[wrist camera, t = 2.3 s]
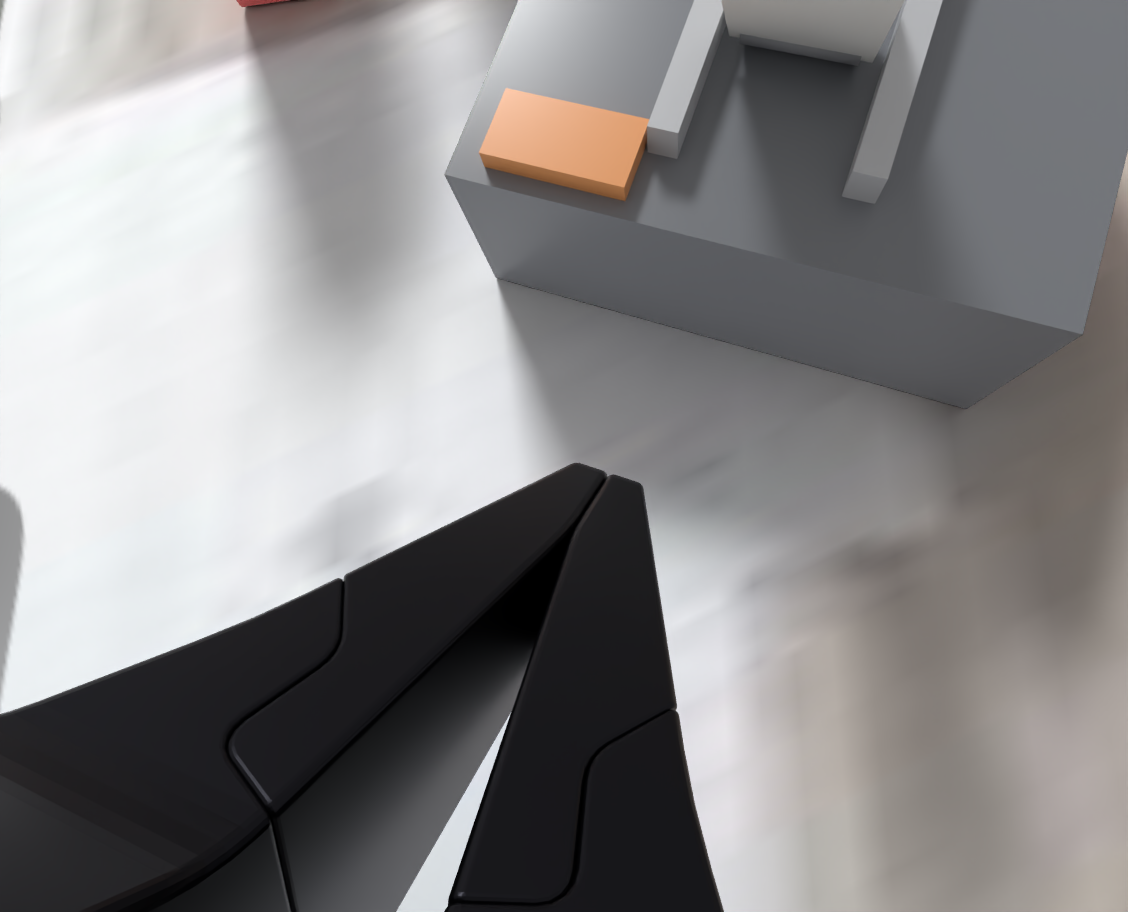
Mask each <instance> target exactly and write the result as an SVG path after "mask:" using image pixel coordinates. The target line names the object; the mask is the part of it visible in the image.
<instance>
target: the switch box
mask: <svg viewBox="0 0 1128 912" xmlns="http://www.w3.org/2000/svg"><path fill="white" fill-rule="evenodd" d="M1127 151H1128V0H905V1H904V2H903V4H902V6H901V8H900V10H899V12H898V14H897V16H896V18H895V20H894V22H893V24H892V26H891V28H890V30H889V32H888V34H887V36H886V37H885V39H884V41H883V43H882V45H881V47H880V49H879V51H878V53H877V55H876V57H875V59H874V61H873V63H870V62H865V61H860V63H859V65H858V66H855V65H850V64H845V63H839V62H834V61H829V60H823V59H818V58H813V57H808V56H802V55H797V54H792V53H787V52H781V51H776V50H771V49H765V48H760V47H755V46H750V45H744V44H740V42H739V38H737V37H732V36H729V33H728V28H727V24H726V19H725V15H724V10H723V6H722V1H721V0H518V2H517V5H516V7H515V9H514V12H513V14H512V17H511V19H510V21H509V24H508V26H507V28H506V31H505V33H504V35H503V38H502V40H501V42H500V45H499V47H498V50H497V52H496V54H495V57H494V59H493V61H492V64H491V66H490V68H489V71H488V73H487V75H486V78H485V80H484V83H483V85H482V87H481V90H480V92H479V94H478V97H477V99H476V101H475V104H474V106H473V108H472V111H471V113H470V116H469V118H468V120H467V123H466V125H465V127H464V130H463V132H462V134H461V137H460V139H459V142H458V144H457V146H456V149H455V151H454V153H453V156H452V158H451V160H450V163H449V165H448V167H447V170H446V172H445V177H446V179H447V181H448V183H449V185H450V187H451V189H452V191H453V193H454V195H455V197H456V199H457V201H458V203H459V205H460V207H461V209H462V211H463V213H464V215H465V217H466V219H467V221H468V223H469V225H470V227H471V229H472V231H473V233H474V235H475V237H476V239H477V241H478V243H479V245H480V247H481V249H482V251H483V253H484V255H485V257H486V259H487V261H488V263H489V265H490V267H491V269H492V271H493V273H494V275H495V277H496V278H499V279H502V280H506V281H510V282H513V283H517V284H520V285H524V286H527V287H531V288H535V289H538V290H542V291H545V292H549V293H553V294H556V295H560V296H563V297H567V298H570V299H574V300H578V301H581V302H585V303H588V304H592V305H596V306H599V307H603V308H606V309H610V310H613V311H617V312H621V313H624V314H628V315H631V316H635V317H638V318H642V319H646V320H649V321H653V322H656V323H660V324H664V325H667V326H671V327H674V328H678V329H681V330H685V331H689V332H692V333H696V334H699V335H703V336H707V337H710V338H714V339H717V340H721V341H724V342H728V343H732V344H735V345H739V346H742V347H746V348H749V349H753V350H757V351H760V352H764V353H767V354H771V355H775V356H778V357H782V358H785V359H789V360H792V361H796V362H800V363H803V364H807V365H810V366H814V367H818V368H821V369H825V370H828V371H832V372H835V373H839V374H843V375H846V376H850V377H853V378H857V379H860V380H864V381H868V382H871V383H875V384H878V385H882V386H886V387H889V388H893V389H896V390H900V391H903V392H907V393H911V394H914V395H918V396H921V397H925V398H929V399H932V400H936V401H939V402H943V403H946V404H950V405H954V406H957V407H961V408H964V409H967V408H969V407H970V406H972V405H973V404H975V403H976V402H978V401H980V400H981V399H983V398H984V397H986V396H987V395H989V394H990V393H992V392H994V391H995V390H997V389H998V388H1000V387H1001V386H1003V385H1005V384H1006V383H1008V382H1009V381H1011V380H1012V379H1014V378H1015V377H1017V376H1019V375H1020V374H1022V373H1023V372H1025V371H1026V370H1028V369H1030V368H1031V367H1033V366H1034V365H1036V364H1037V363H1039V362H1041V361H1042V360H1044V359H1045V358H1047V357H1048V356H1050V355H1051V354H1053V353H1055V352H1056V351H1058V350H1059V349H1061V348H1062V347H1064V346H1066V345H1067V344H1069V343H1070V342H1072V341H1073V340H1075V339H1076V338H1078V337H1080V336H1081V335H1083V332H1084V328H1085V323H1086V319H1087V315H1088V311H1089V307H1090V303H1091V299H1092V295H1093V291H1094V287H1095V282H1096V278H1097V274H1098V270H1099V266H1100V262H1101V258H1102V254H1103V250H1104V246H1105V241H1106V237H1107V233H1108V229H1109V225H1110V221H1111V217H1112V213H1113V209H1114V205H1115V200H1116V196H1117V192H1118V188H1119V184H1120V180H1121V176H1122V172H1123V168H1124V164H1125V160H1126V155H1127Z"/></svg>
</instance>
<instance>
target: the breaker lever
mask: <svg viewBox="0 0 1128 912" xmlns="http://www.w3.org/2000/svg"><path fill="white" fill-rule="evenodd" d="M721 1H722V6H723V10H724V15H725V19H726V24H727V28H728V33H729V36H732V37H737V38H739V42H740V44H744V45H750V46H755V47H760V48H765V49H771V50H776V51H781V52H787V53H792V54H797V55H802V56H808V57H813V58H818V59H823V60H829V61H834V62H839V63H845V64H850V65H855V66H858V65H859V63H860V61H865V62H870V63H873V61H874V59H875V57H876V55H877V53H878V51H879V49H880V47H881V45H882V43H883V41H884V39H885V37H886V36H887V34H888V32H889V30H890V28H891V26H892V24H893V22H894V20H895V18H896V16H897V14H898V12H899V10H900V8H901V6H902V4H903V2H904V1H905V0H721Z"/></svg>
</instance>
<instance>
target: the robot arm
mask: <svg viewBox="0 0 1128 912" xmlns="http://www.w3.org/2000/svg"><path fill="white" fill-rule="evenodd" d="M676 708H677V703H676V696H675V690H674V683H673V677H672V670H671V664H670V657H669V651H668V644H667V638H666V632H665V625H664V619H663V612H662V606H661V599H660V593H659V586H658V580H657V574H656V567H655V561H654V554H653V548H652V541H651V535H650V528H649V522H648V515H647V509H646V503H645V496H644V490H643V487H642V485H641V484H640V483H638V482H635V481H632V480H629V479H626V478H623V477H620V476H617V475H609V476H608V477H607V474H606V473H605V472H604V471H602V470H599V469H596V468H593V467H590V466H587V465H584V464H581V463H573V464H570V465H568V466H566V467H564V468H562V469H560V470H558V471H556V472H554V473H552V474H550V475H548V476H546V477H544V478H542V479H540V480H538V481H536V482H534V483H532V484H530V485H528V486H525V487H523V488H521V489H519V490H517V491H515V492H513V493H511V494H509V495H507V496H505V497H503V498H501V499H499V500H497V501H495V502H493V503H491V504H489V505H487V506H485V507H483V508H480V509H478V510H476V511H474V512H472V513H470V514H468V515H466V516H464V517H462V518H460V519H458V520H456V521H454V522H452V523H450V524H448V525H446V526H444V527H442V528H440V529H438V530H435V531H433V532H431V533H429V534H427V535H425V536H423V537H421V538H419V539H417V540H415V541H413V542H411V543H409V544H407V545H405V546H403V547H401V548H399V549H397V550H395V551H393V552H390V553H388V554H386V555H384V556H382V557H380V558H378V559H376V560H374V561H372V562H370V563H368V564H366V565H364V566H362V567H360V568H358V569H356V570H354V571H352V572H350V573H348V574H346V575H345V576H344V581H343V580H342V579H340V578H337V579H335V580H333V581H331V582H328V583H326V584H324V585H322V586H320V587H318V588H316V589H314V590H312V591H310V592H308V593H306V594H304V595H302V596H299V597H297V598H295V599H293V600H291V601H289V602H286V603H284V604H282V605H280V606H278V607H275V608H273V609H271V610H269V611H267V612H265V613H262V614H260V615H258V616H256V617H254V618H251V619H249V620H246V621H244V622H241V623H239V624H236V625H234V626H231V627H229V628H226V629H224V630H222V631H219V632H217V633H214V634H212V635H209V636H207V637H204V638H202V639H199V640H197V641H195V642H192V643H189V644H187V645H184V646H182V647H179V648H176V649H174V650H171V651H169V652H166V653H163V654H161V655H158V656H156V657H153V658H150V659H148V660H145V661H143V662H140V663H137V664H135V665H132V666H130V667H127V668H124V669H122V670H119V671H117V672H114V673H111V674H109V675H106V676H103V677H101V678H98V679H96V680H93V681H90V682H88V683H85V684H83V685H80V686H77V687H75V688H72V689H70V690H67V691H64V692H62V693H59V694H57V695H54V696H51V697H49V698H46V699H44V700H41V701H38V702H35V703H33V704H30V705H27V706H24V707H21V708H18V709H15V710H12V711H10V712H6V713H2V714H0V912H396V911H397V909H398V907H399V906H400V904H401V902H402V900H403V899H404V897H405V895H406V893H407V892H408V890H409V888H410V887H411V885H412V883H413V881H414V880H415V878H416V876H417V874H418V873H419V871H420V869H421V867H422V866H423V864H424V862H425V860H426V859H427V857H428V855H429V853H430V852H431V850H432V848H433V847H434V845H435V843H436V841H437V840H438V838H439V836H440V834H441V833H442V831H443V829H444V827H445V826H446V824H447V822H448V820H449V819H450V817H451V815H452V814H453V812H454V810H455V808H456V807H457V805H458V803H459V801H460V800H461V798H462V796H463V794H464V793H465V791H466V789H467V787H468V786H469V784H470V782H471V781H472V779H473V777H474V775H475V774H476V772H477V770H478V768H479V767H480V765H481V763H482V761H483V760H484V758H485V756H486V754H487V753H488V751H489V749H490V747H491V746H492V744H493V742H494V741H495V739H496V737H497V735H498V734H499V732H500V730H501V728H502V727H503V725H504V723H505V721H506V720H507V718H508V716H509V714H510V713H511V715H510V718H509V721H508V724H507V727H506V730H505V733H504V736H503V739H502V742H501V745H500V747H499V750H498V753H497V756H496V759H495V762H494V765H493V768H492V771H491V774H490V777H489V780H488V783H487V786H486V789H485V792H484V795H483V798H482V801H481V804H480V807H479V810H478V813H477V816H476V819H475V822H474V825H473V827H472V830H471V833H470V836H469V839H468V842H467V845H466V848H465V851H464V854H463V857H462V860H461V863H460V866H459V869H458V872H457V875H456V878H455V881H454V884H453V887H452V890H451V893H450V896H449V900H448V907H447V908H446V910H445V911H444V912H724V910H723V907H722V903H721V900H720V896H719V893H718V889H717V886H716V883H715V879H714V876H713V872H712V869H711V865H710V861H709V857H708V853H707V849H706V846H705V842H704V838H703V834H702V830H701V826H700V822H699V818H698V815H697V811H696V807H695V803H694V797H693V792H692V787H691V782H690V777H689V772H688V766H687V761H686V756H685V751H684V745H683V738H682V732H681V726H680V719H679V714H678V713H677V712H676ZM511 711H512V712H511Z"/></svg>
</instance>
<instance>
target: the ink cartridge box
mask: <svg viewBox="0 0 1128 912" xmlns="http://www.w3.org/2000/svg"><path fill="white" fill-rule="evenodd" d="M281 1H289V0H237V2H238V3H239V5H240V6H242V7H246V6H253V5H259V4H268V3H273V2H281Z"/></svg>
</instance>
